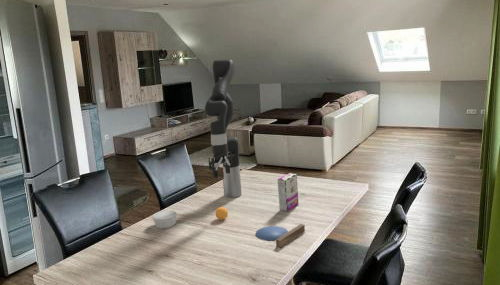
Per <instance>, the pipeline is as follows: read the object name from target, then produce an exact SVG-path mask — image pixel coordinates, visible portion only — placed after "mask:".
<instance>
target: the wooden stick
mask: <svg viewBox="0 0 500 285" xmlns="http://www.w3.org/2000/svg"><path fill="white" fill-rule="evenodd" d="M305 227H306V226H305V224H303V223H299V225H297V226H295V227H293V228H292V229H291V230H288V232H287V233H286V234H284V235H282V236H281V237H279V238H278V239H276V240H275V245H276V246H275V247H277V248H280V249H281V248H283V247H284V246H286V245H287V244H288V243H290V242H291V241H293V240H294V239H296V238H297V237H299V236H301V235H302V234H304V233H305V231H306V230H305Z"/></svg>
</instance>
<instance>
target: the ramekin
mask: <svg viewBox="0 0 500 285" xmlns="http://www.w3.org/2000/svg"><path fill="white" fill-rule="evenodd" d="M152 219H153V223H154V225H155V227H156V228H157V229H168V228H169V229H170V228H171V227H174V226H175V224H176V223H177V212H176V211H174V210H170V209H167V210H161V211H158V212H155V213H154V214H152Z"/></svg>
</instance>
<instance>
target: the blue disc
mask: <svg viewBox="0 0 500 285" xmlns="http://www.w3.org/2000/svg"><path fill="white" fill-rule="evenodd" d="M287 232H289V230H287V229H286V228H285V227H281V226H279V225H278V226H276V225H274V226H273V225H270V226H264V227H262V228H259V229H257V230H256V232H255V236H256V237H257V238H258V239H260V240H262V241H269V242H270V241H271V242H272V241H276V239H278V238H279V237H281V236H282V235H284V234H286V233H287Z"/></svg>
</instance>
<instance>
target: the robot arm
mask: <svg viewBox="0 0 500 285" xmlns="http://www.w3.org/2000/svg"><path fill="white" fill-rule="evenodd" d="M212 62H213V63H212V73H213V82H214V86H213V88H212V93H211V95H210V96H209V98H208V100H206V103H205V104H204V105H205V106H204V112H205V115H206V116H208V117H216V119H217V120H213V121H211V122H210V126H209V128H210V145H211V153H212V154H213V156H212V157H211V156H210V157H209V156H208V169H209V171H212V176H213V178H215V179H219V171H218V168H220V165H221V164H222V169H223V170H222V171H223V179H222V185H223V186H222V187H223V188H222V189H223V195H224V196H225V197H226V198H238V197H240V196H242V194H243V193H242V183H241V182H242V181H241V166H240V146H239V139H238V137H236V136H231V137H227V133H226V132H227V130H228V126H229V124H230V123H231V121H232V120H233V118H234V113H235V111H234V110H235V109H234V101H233V99H232V97H231V96H230V94H229V93H228V89H229V87H230V85H231V82H232V79H233V78H234V74H235V63H234V61H233V60H232V59H216V60H213V61H212Z"/></svg>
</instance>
